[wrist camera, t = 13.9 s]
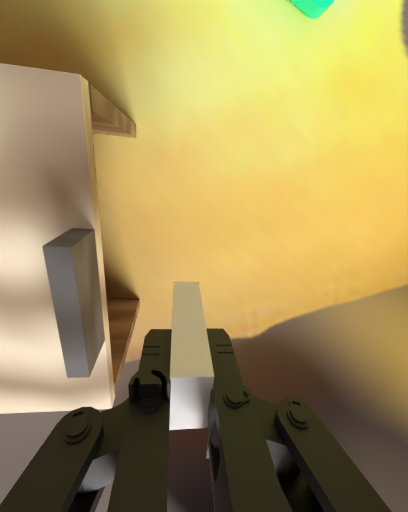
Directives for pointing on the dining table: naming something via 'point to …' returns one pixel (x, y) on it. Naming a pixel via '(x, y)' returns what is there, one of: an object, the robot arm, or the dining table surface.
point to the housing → (119, 310)
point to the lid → (50, 247)
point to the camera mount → (312, 6)
